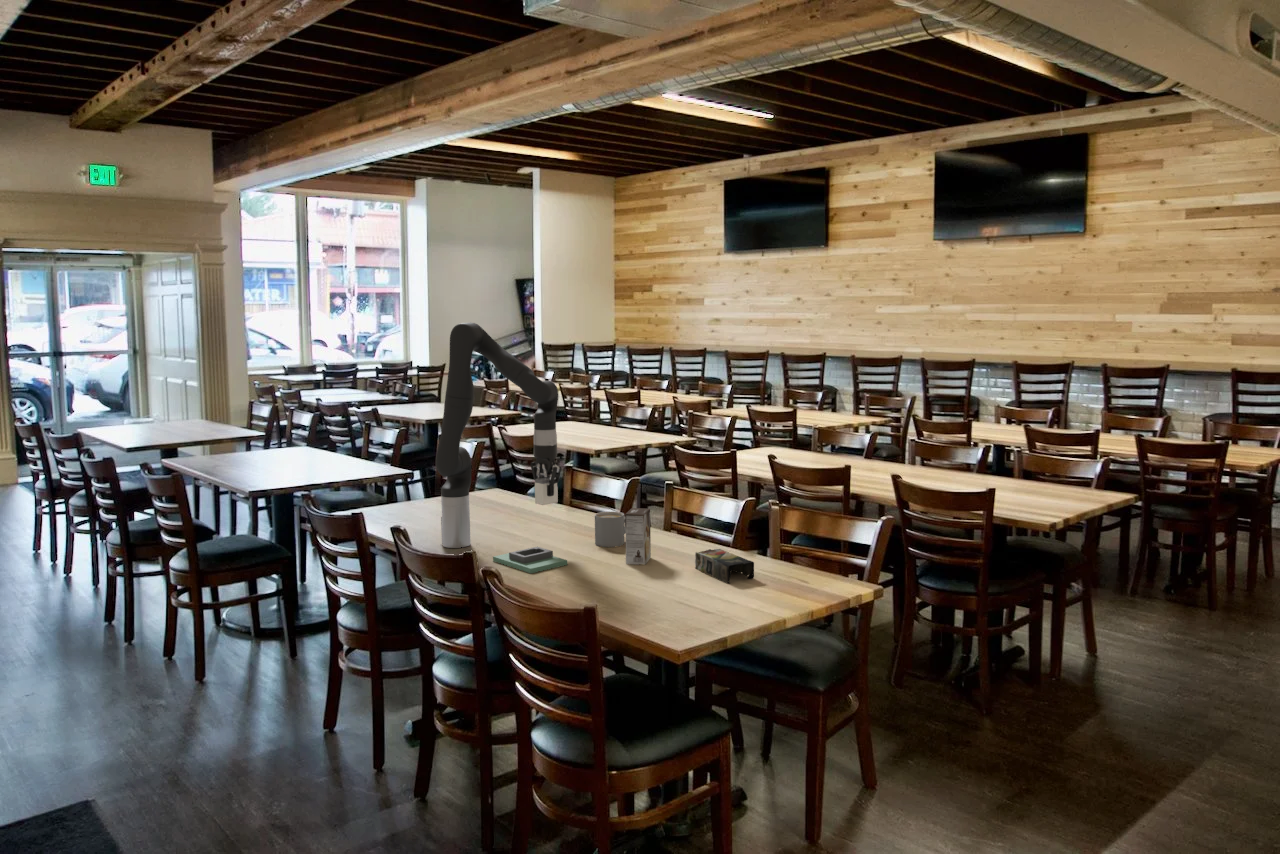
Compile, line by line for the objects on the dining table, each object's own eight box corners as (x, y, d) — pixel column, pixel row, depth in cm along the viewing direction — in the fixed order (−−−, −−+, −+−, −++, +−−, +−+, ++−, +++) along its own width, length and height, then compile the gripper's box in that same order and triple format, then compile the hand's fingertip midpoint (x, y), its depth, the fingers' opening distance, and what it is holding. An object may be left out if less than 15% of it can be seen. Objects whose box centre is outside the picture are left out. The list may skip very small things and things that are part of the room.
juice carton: (691, 568, 298) (691, 549, 298) (718, 564, 303) (719, 545, 302) (727, 585, 281) (727, 565, 280) (755, 581, 285) (756, 561, 284)
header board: (493, 561, 308) (492, 550, 308) (529, 553, 318) (528, 542, 317) (530, 573, 294) (530, 562, 293) (567, 564, 303) (567, 553, 302)
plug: (535, 503, 318) (534, 479, 317) (552, 500, 322) (551, 476, 321) (542, 505, 315) (542, 480, 314) (559, 502, 319) (559, 478, 318)
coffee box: (631, 556, 312) (631, 507, 310) (651, 557, 311) (650, 508, 309) (625, 564, 303) (624, 513, 301) (645, 565, 302) (645, 514, 300)
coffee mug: (604, 548, 323) (603, 519, 322) (589, 542, 331) (589, 513, 330) (638, 543, 330) (638, 514, 328) (623, 537, 338) (623, 509, 337)
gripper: (522, 441, 318) (523, 493, 320) (549, 446, 308) (550, 499, 310) (541, 439, 323) (542, 490, 325) (568, 443, 313) (568, 496, 315)
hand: (546, 494), depth 318 cm, fingers closed on plug, 4 cm apart
